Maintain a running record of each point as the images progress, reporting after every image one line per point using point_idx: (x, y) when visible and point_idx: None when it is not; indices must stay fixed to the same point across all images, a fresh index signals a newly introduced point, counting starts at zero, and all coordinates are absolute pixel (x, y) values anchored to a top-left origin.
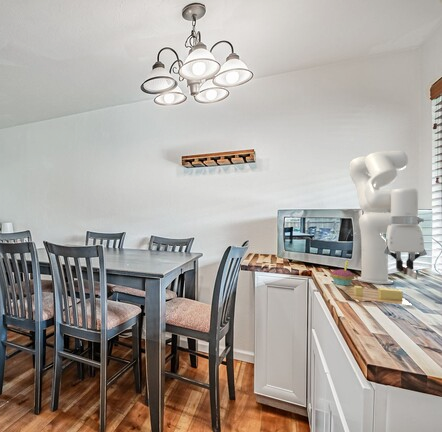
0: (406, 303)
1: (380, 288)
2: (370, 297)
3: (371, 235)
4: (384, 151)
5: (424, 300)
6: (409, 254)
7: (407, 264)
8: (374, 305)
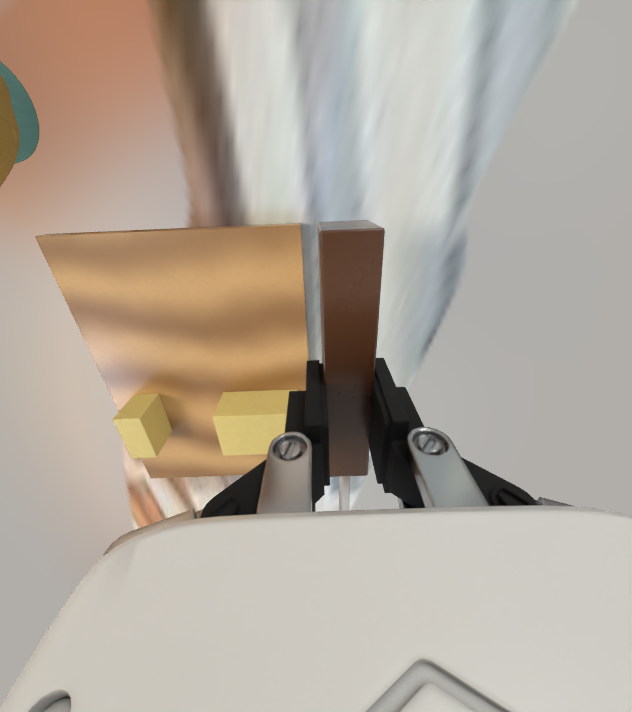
0: None
1: (221, 433)
2: (199, 435)
3: None
4: None
5: (397, 328)
6: (437, 507)
7: (373, 427)
8: (218, 480)
